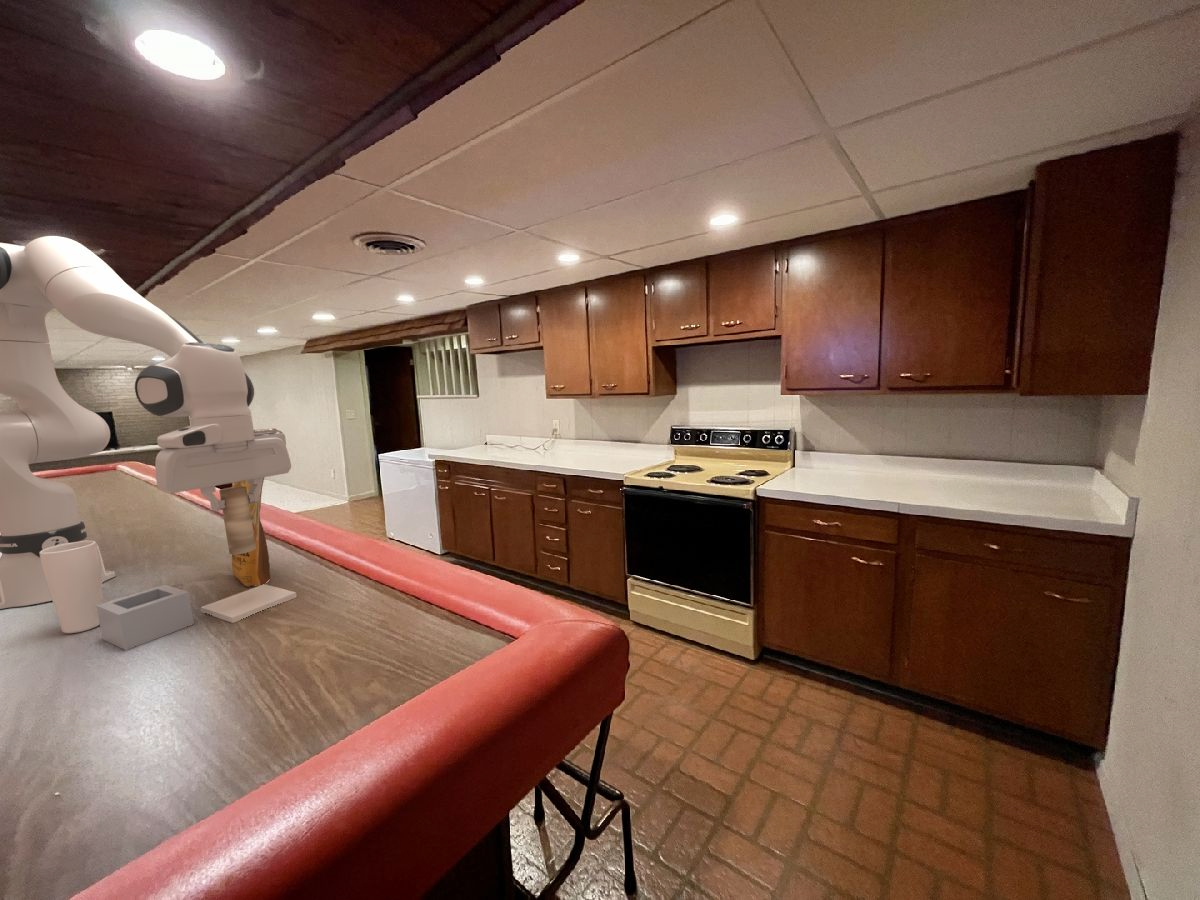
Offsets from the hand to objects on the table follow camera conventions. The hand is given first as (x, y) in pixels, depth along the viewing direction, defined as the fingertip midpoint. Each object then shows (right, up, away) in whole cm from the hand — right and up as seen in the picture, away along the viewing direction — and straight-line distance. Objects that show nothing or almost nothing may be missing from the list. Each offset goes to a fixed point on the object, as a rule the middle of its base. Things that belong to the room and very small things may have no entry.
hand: (235, 506), depth 88 cm
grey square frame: (-10, -21, -6) cm, 24 cm away
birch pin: (+1, -9, +1) cm, 9 cm away
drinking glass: (-24, -21, -4) cm, 32 cm away
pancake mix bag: (-9, -18, +17) cm, 26 cm away
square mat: (+1, -19, +2) cm, 19 cm away
